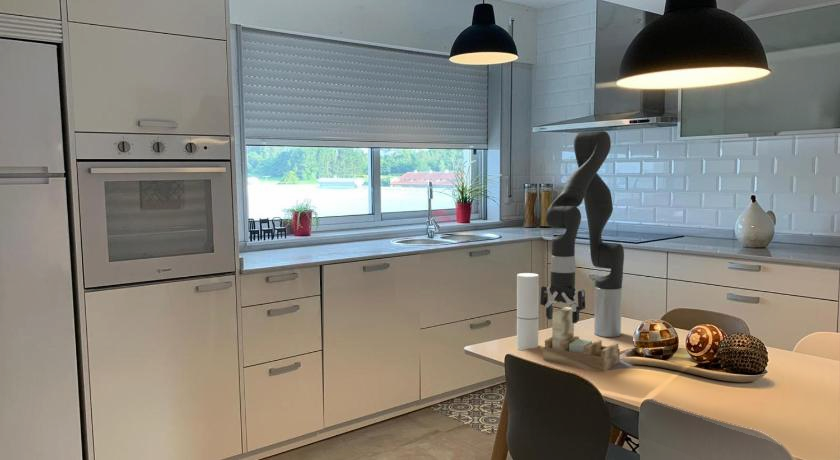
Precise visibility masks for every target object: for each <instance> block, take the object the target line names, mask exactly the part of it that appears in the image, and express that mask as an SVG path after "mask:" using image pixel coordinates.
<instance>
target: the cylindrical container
mask: <svg viewBox="0 0 840 460" xmlns="http://www.w3.org/2000/svg"><path fill="white" fill-rule="evenodd" d="M516 274H517V275H516V349H517V351H521V350H522V351H523V352H524V351H525V350H527V349H530V350H531V349H536V348H538V347H539V316H540V315H539V312H540V311H539V304H540V303H539V299H540V298H539V294H540V292H539V291H540V289H539V285H540V280H539V278H540V277H539V274H537V273H534V272H533V273H532V272H523V273H522V272H521V273H516Z"/></svg>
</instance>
